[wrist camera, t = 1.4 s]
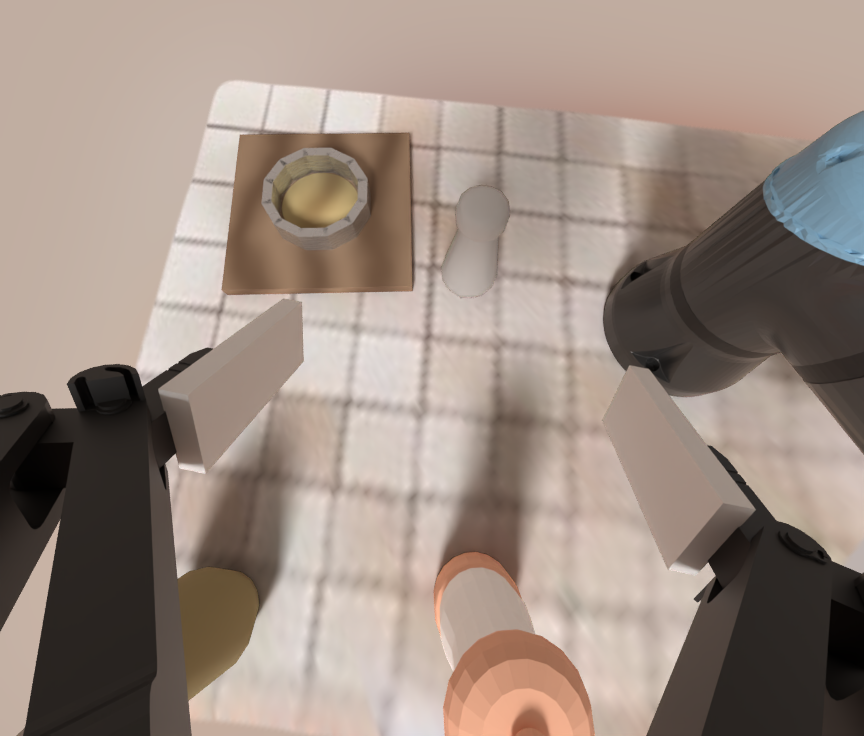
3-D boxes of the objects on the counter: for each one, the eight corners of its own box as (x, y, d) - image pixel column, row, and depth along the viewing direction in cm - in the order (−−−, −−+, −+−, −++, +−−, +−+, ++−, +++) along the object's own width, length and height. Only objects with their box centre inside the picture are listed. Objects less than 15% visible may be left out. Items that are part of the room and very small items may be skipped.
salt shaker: (430, 272, 41) (433, 189, 29) (474, 249, 42) (495, 159, 30) (458, 315, 40) (473, 248, 28) (502, 290, 41) (536, 214, 28)
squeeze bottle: (208, 542, 34) (-17, 624, 17) (288, 575, 34) (140, 697, 16) (162, 636, 32) (-145, 840, 15) (246, 674, 32) (28, 931, 14)
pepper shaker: (515, 555, 34) (622, 665, 16) (512, 646, 33) (626, 889, 14) (437, 547, 34) (452, 647, 16) (429, 637, 33) (435, 867, 14)
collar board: (409, 141, 46) (408, 114, 42) (412, 291, 41) (411, 274, 37) (244, 143, 45) (229, 115, 42) (227, 294, 40) (208, 278, 37)
